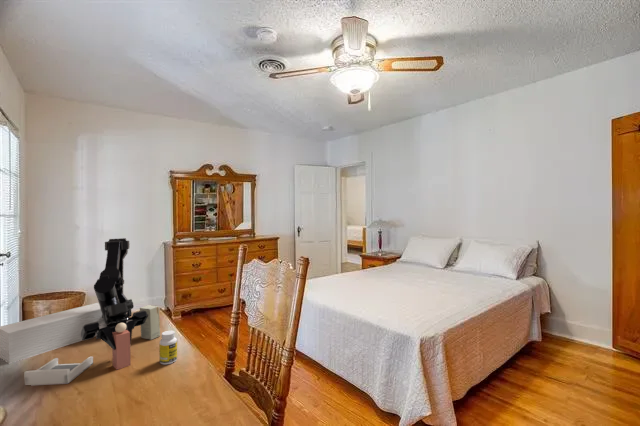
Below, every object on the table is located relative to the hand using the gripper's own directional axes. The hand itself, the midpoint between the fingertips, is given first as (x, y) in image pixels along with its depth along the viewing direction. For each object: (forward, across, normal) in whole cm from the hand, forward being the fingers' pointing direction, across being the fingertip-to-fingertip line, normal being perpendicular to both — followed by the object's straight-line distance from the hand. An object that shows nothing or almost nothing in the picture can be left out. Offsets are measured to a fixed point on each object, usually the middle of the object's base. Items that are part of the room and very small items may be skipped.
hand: (122, 346), depth 105 cm
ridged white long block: (-24, -9, +34) cm, 42 cm away
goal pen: (-2, -14, +12) cm, 19 cm away
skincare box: (-8, +16, +18) cm, 25 cm away
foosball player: (+4, 0, +6) cm, 7 cm away
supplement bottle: (+10, +11, -1) cm, 15 cm away
